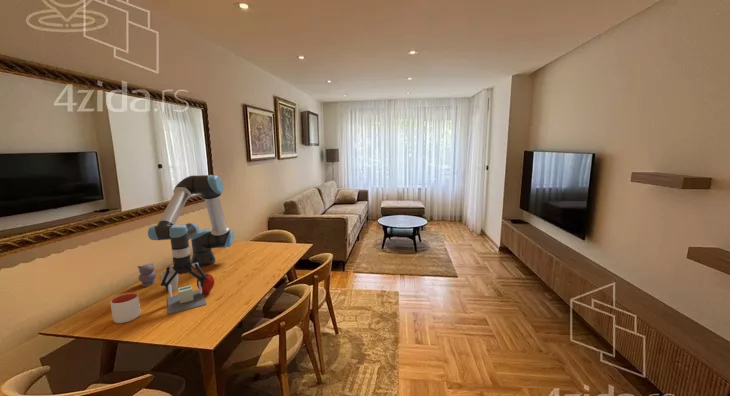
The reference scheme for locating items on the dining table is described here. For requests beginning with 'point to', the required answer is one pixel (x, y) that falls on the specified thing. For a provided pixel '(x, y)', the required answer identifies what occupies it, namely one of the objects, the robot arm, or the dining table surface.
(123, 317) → the cup
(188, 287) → the pale green block
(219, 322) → the dining table surface
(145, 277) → the cat figurine
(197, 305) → the grey piece
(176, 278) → the cup
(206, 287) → the apple
